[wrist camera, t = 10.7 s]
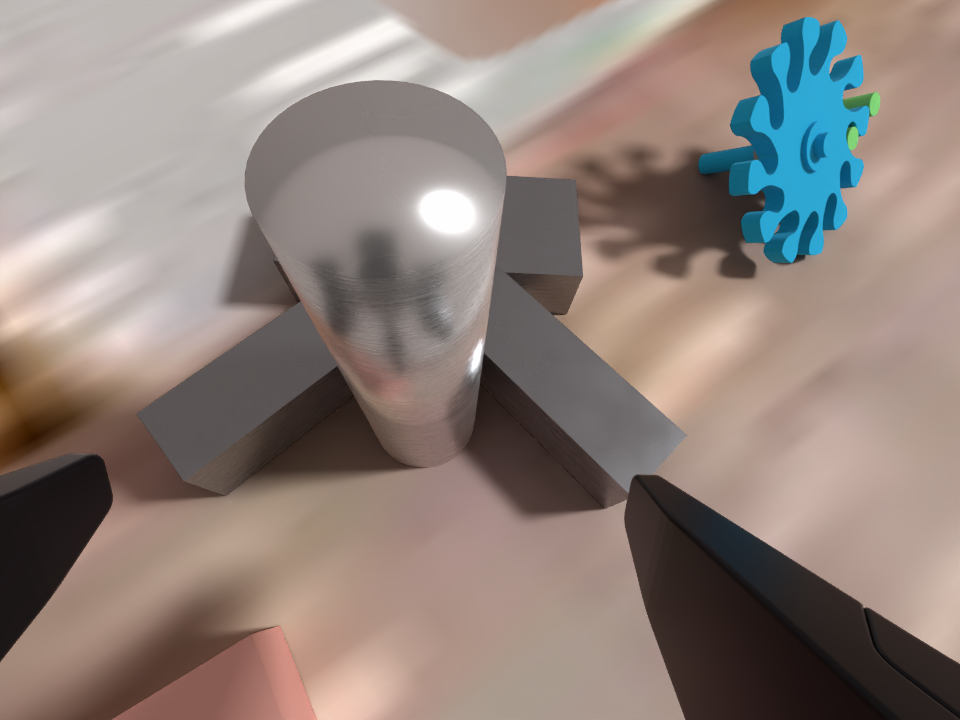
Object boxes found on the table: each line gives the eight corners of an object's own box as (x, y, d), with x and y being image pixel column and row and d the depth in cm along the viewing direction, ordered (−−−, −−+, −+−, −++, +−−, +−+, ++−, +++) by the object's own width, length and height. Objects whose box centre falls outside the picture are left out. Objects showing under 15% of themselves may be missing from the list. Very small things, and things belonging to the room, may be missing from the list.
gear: (770, 298, 21) (754, 31, 17) (656, 287, 25) (623, 80, 22) (890, 214, 25) (900, -14, 21) (773, 219, 30) (763, 36, 26)
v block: (660, 510, 18) (696, 499, 16) (166, 493, 18) (114, 478, 15) (625, 228, 24) (648, 183, 21) (248, 208, 23) (221, 159, 20)
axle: (449, 484, 18) (439, 317, 6) (356, 442, 19) (187, 214, 7) (489, 394, 20) (543, 126, 8) (403, 357, 20) (332, 53, 8)
